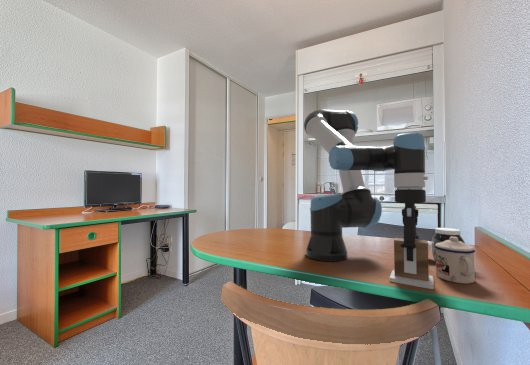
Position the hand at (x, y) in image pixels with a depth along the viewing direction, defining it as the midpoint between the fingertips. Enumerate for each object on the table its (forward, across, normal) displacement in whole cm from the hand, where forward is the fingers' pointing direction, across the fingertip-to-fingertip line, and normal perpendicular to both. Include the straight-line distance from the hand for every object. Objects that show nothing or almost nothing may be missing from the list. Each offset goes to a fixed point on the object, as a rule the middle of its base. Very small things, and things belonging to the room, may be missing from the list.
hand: (411, 266), depth 68 cm
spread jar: (+4, +24, -8) cm, 26 cm away
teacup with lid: (+4, +7, -11) cm, 13 cm away
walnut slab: (+3, 0, 0) cm, 3 cm away
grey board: (+4, 0, 0) cm, 4 cm away
